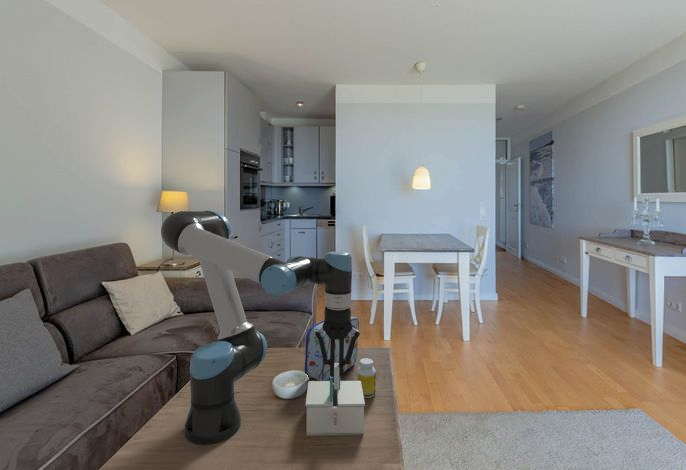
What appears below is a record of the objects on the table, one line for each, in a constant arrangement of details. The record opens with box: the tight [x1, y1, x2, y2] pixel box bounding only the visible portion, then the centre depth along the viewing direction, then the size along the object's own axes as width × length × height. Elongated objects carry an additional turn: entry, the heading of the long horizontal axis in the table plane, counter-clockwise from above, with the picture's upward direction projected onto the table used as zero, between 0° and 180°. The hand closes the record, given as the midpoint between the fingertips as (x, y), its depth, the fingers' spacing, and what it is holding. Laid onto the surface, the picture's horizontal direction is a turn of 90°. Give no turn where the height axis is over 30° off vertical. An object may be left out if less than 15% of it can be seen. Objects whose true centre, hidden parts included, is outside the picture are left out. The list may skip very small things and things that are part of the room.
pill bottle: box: [356, 357, 377, 399], centre depth 120 cm, size 6×6×12 cm
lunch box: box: [304, 316, 360, 381], centre depth 136 cm, size 28×10×22 cm, turn 148°
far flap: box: [337, 377, 366, 407], centre depth 104 cm, size 8×13×7 cm, turn 2°
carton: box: [306, 382, 365, 437], centre depth 104 cm, size 16×16×8 cm
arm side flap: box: [305, 377, 334, 408], centre depth 104 cm, size 8×13×7 cm, turn 2°
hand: (336, 386), depth 101 cm, fingers closed
